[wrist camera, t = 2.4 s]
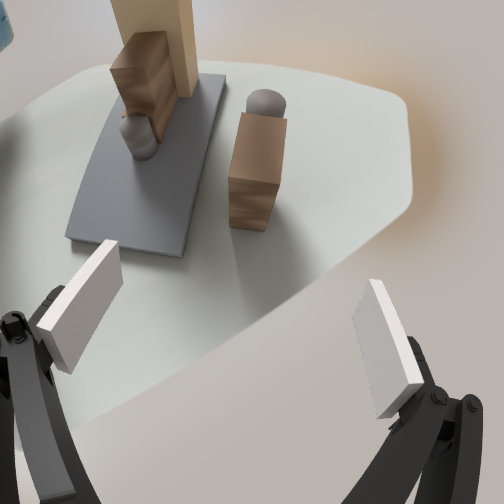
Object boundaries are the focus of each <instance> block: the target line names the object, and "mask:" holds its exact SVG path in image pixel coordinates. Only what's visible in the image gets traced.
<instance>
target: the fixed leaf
mask: <svg viewBox="0 0 504 504" xmlns="http://www.w3.org/2000/svg"><path fill="white" fill-rule="evenodd" d="M110 71H111V74H112V76H113V78H114V81H115V83H116V86H117V88H118V90H119V93H120V95H121V98H122V100H123V102H124V105H125V107H126V108H125V110H124V112H123V114H122V121H121V122H120V124H119V131H120V133H121V135H122V137H123V139H124V141H125V143H126V145H127V147H128V148H129V150H130V152H131V154H132V156H133V157H134V159H136V160H138V161H146V160H149V159H150V158H152V157H153V156H154V155H155V154H156V152H157V150H158V144H157V143H162V140H163V137H164V134H165V132H166V129H167V126H168V123H169V120H170V118H171V115H172V112H173V110H174V107H175V105H176V102H177V99H178V93H177V88H176V83H175V78H174V72H173V67H172V62H171V57H170V51H169V46H168V40H167V35H166V31H152V32H138V33H134V34H133V35H132V37H131V38H130V39H129V41H128V42H127V44H126V45H125V47H124V48H123V49H122V51H121V53H120V54H119V55H118V57H117V58H116V60H115V62H114V63H113V65H112V66H111V68H110Z"/></svg>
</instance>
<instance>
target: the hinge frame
mask: <svg viewBox="0 0 504 504" xmlns="http://www.w3.org/2000/svg"><path fill="white" fill-rule="evenodd" d="M110 1H111V4H112V7H113V11H114V14H115V18H116V21H117V24H118V28H119V31H120V34H121V38H122V41H123V44H124V47H125V45H126V44H127V42H128V41H129V39H130V38H131V37H132V35H133V34H134V33H138V32H152V31H166V35H167V40H168V46H169V51H170V57H171V62H172V67H173V72H174V78H175V83H176V88H177V93H178V99H177V102H176V105H175V107H174V110H173V112H172V115H171V118H170V120H169V123H168V126H167V129H166V132H165V134H164V137H163V140H162V143H157V144H158V150H157V152H156V154H155V155H154V156H153V157H152V158H150V159H149V160H146V161H138V160H136V159H134V157H133V156H132V154H131V152H130V150H129V148H128V147H127V145H126V143H125V141H124V139H123V137H122V135H121V133H120V131H119V124H120V122H121V121H122V114H123V112H124V110H125V108H126V107H125V105H124V102H123V100H122V98H121V95H120V94H119V96H118V98H117V100H116V102H115V104H114V106H113V108H112V110H111V112H110V114H109V117H108V119H107V121H106V123H105V125H104V127H103V130H102V132H101V134H100V136H99V139H98V141H97V143H96V146H95V148H94V151H93V153H92V155H91V158H90V160H89V163H88V166H87V168H86V171H85V174H84V176H83V179H82V182H81V185H80V188H79V191H78V194H77V197H76V200H75V203H74V206H73V209H72V213H71V216H70V219H69V223H68V226H67V230H66V234H65V237H67V238H68V239H71V240H77V241H82V242H88V243H94V244H100V245H101V244H102V243H103V242H104V241H105V239H108V240H114V241H118V245H119V248H124V249H130V250H136V251H142V252H148V253H154V254H160V255H167V256H173V257H179V258H183V253H184V248H185V243H186V238H187V233H188V228H189V223H190V219H191V214H192V209H193V205H194V200H195V196H196V192H197V187H198V183H199V179H200V174H201V170H202V166H203V162H204V158H205V154H206V150H207V146H208V142H209V139H210V135H211V131H212V127H213V124H214V120H215V116H216V113H217V109H218V106H219V102H220V99H221V95H222V92H223V89H224V85H225V82H226V75H219V74H205V73H198V66H197V58H196V47H195V36H194V25H193V13H192V1H191V0H110Z"/></svg>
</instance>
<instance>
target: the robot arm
mask: <svg viewBox="0 0 504 504" xmlns="http://www.w3.org/2000/svg"><path fill="white" fill-rule="evenodd" d="M13 37H14V33H13V30H12V27H11V24H10V21H9V18H8V15H7V12H6V9H5V6H4V3H3V0H0V52H1V51H2V50H3V49H5V48H6V47H7V46H8V45H9V44H10V43H11V42H12V40H13ZM122 284H123V278H122V271H121V263H120V254H119V245H118V241H114V240H108V239H105V241H104V242H103V243H102V244H101V245H100V246H99V247H98V248H97V250H96V251H95V252H94V253H93V254H92V255H91V256H90V258H89V259H88V260H87V261H86V262H85V263H84V265H83V266H82V267H81V268H80V269H79V271H78V272H77V273H76V274H75V275H74V277H73V278H72V279H71V280H70V282H69V283H68V284H67V285H66V286H62V285H59V286H58V287H56V288H55V289H53V290H52V291H51V292H50V293H49V295H48V296H47V297H46V300H44V301H43V302H42V304H41V305H40V306H39V307H38V309H37V310H36V311H35V313H34V314H33V315H32V317H31V318H30V319H29V321H28V322H27V321H26V318H25V316H24V314H23V313H21V312H19V311H11V312H9V313H7V314H6V315H4V316H3V317H2V319H1V320H0V329H1V331H2V333H0V504H20V501H19V495H18V487H17V479H16V469H15V453H14V412H15V417H16V422H17V427H18V431H19V435H20V439H21V443H22V447H23V451H24V455H25V458H26V461H27V465H28V468H29V471H30V474H31V477H32V480H33V483H34V486H35V488H36V491H37V494H38V496H39V499H40V504H101V502H100V500H99V498H98V496H97V495H96V492H95V491H94V489H93V486H92V484H91V482H90V480H89V478H88V476H87V474H86V472H85V469H84V467H83V465H82V462H81V460H80V458H79V455H78V453H77V450H76V448H75V445H74V442H73V440H72V437H71V434H70V431H69V429H68V426H67V423H66V420H65V417H64V413H63V410H62V407H61V404H60V400H59V397H58V393H57V389H56V386H55V382H54V378H53V373H52V370H51V368H50V366H51V364H52V363H53V362H54V364H55V366H56V367H57V369H58V370H60V371H63V372H66V373H68V374H72V372H73V370H74V368H75V366H76V364H77V362H78V361H79V359H80V357H81V355H82V353H83V351H84V349H85V347H86V346H87V344H88V342H89V340H90V338H91V337H92V335H93V333H94V331H95V330H96V328H97V326H98V324H99V323H100V321H101V319H102V317H103V316H104V314H105V312H106V311H107V309H108V307H109V306H110V304H111V302H112V301H113V299H114V297H115V296H116V294H117V292H118V291H119V289H120V288H121V286H122ZM352 320H353V323H354V327H355V330H356V334H357V338H358V341H359V345H360V349H361V352H362V357H363V361H364V365H365V369H366V373H367V377H368V381H369V385H370V390H371V394H372V399H373V403H374V408H375V412H376V417H377V419H384V418H391V417H393V416H394V415H395V414H396V413H397V412H399V416H400V418H399V419H398V420H397V421H396V422H395V423H394V424H393V425H392V426H390V428H389V430H391V429H392V430H391V432H390V433H389V435H388V437H387V438H386V440H385V442H384V443H383V445H382V447H381V448H380V450H379V451H378V453H377V455H376V456H375V458H374V459H373V461H372V462H371V464H370V465H369V467H368V468H367V469H366V471H365V472H364V474H363V475H362V477H361V478H360V479H359V481H358V482H357V484H356V485H355V486H354V488H353V489H352V490H351V492H350V493H349V494H348V496H347V497H346V498H345V499H344V501H343V502H342V503H341V504H405V502H406V500H407V499H408V497H409V495H410V493H411V491H412V489H413V488H414V485H415V484H416V482H417V480H418V478H419V476H420V474H421V472H422V475H421V479H420V483H419V487H418V490H417V494H416V497H415V501H414V504H475V501H476V496H477V489H478V483H479V475H480V466H481V454H482V436H483V407H482V403H481V401H480V400H479V399H478V397H476V396H475V395H473V394H468V395H466V396H465V397H464V398H463V399H462V400H458V399H453V398H449V396H448V394H447V393H446V392H445V390H444V389H442V388H441V387H438V386H436V385H435V383H434V380H433V378H432V375H431V372H430V370H429V367H428V365H427V362H426V361H425V357H424V355H422V350H421V348H420V345H419V344H418V343H417V341H416V340H415V339H414V338H413V337H410V336H406V335H405V332H404V330H403V327H402V325H401V322H400V320H399V318H398V315H397V313H396V311H395V309H394V306H393V304H392V302H391V300H390V298H389V295H388V293H387V291H386V289H385V287H384V285H383V283H382V281H381V280H374V279H369V280H368V282H367V285H366V287H365V290H364V292H363V294H362V297H361V298H360V301H359V303H358V305H357V307H356V309H355V312H354V314H353V316H352ZM422 470H423V471H422Z"/></svg>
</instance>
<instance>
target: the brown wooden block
mask: <svg viewBox="0 0 504 504" xmlns="http://www.w3.org/2000/svg"><path fill="white" fill-rule="evenodd" d="M285 108H286V101H285V99H284V98H283V96H282V95H280V94H279V93H277V92H275V91H272V90H268V89H261V90H257V91H254V92H252V93H251V94H250V95H249V96H248V98H247V105H246V113H244V112H242V113H241V118H240V122H239V127H238V132H237V136H236V141H235V146H234V151H233V156H232V161H231V166H230V171H229V176H228V186H229V224H230V227H235V228H242V229H248V230H255V231H262V232H264V231H265V228H266V225H267V222H268V219H269V216H270V213H271V210H272V207H273V204H274V201H275V198H276V195H277V192H278V189H279V186H280V181H281V172H282V163H283V154H284V145H285V135H286V125H287V119H283V116H284V112H285Z"/></svg>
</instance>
